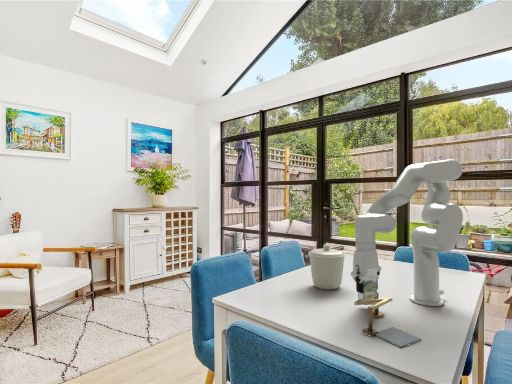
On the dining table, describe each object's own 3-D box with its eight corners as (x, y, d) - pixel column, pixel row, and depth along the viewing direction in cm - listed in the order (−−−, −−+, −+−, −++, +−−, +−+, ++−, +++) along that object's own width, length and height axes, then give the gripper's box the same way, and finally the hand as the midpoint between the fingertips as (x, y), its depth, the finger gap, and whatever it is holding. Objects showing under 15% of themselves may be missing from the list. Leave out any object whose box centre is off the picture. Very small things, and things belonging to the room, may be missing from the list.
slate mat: (393, 328, 104) (393, 326, 104) (421, 340, 95) (421, 338, 95) (373, 334, 99) (373, 333, 99) (400, 348, 91) (400, 346, 91)
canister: (303, 289, 148) (303, 245, 148) (314, 280, 164) (314, 240, 164) (341, 294, 139) (341, 248, 140) (349, 284, 155) (348, 242, 156)
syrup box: (371, 299, 125) (370, 264, 125) (378, 304, 119) (376, 267, 119) (358, 300, 125) (356, 264, 125) (363, 305, 119) (362, 268, 119)
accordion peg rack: (376, 313, 117) (375, 290, 117) (406, 325, 106) (405, 300, 106) (342, 322, 109) (342, 298, 109) (371, 337, 98) (370, 310, 98)
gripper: (372, 242, 130) (374, 284, 130) (342, 247, 121) (344, 292, 121) (388, 244, 123) (389, 288, 123) (357, 250, 115) (359, 297, 115)
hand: (367, 290), depth 122 cm, fingers closed on syrup box, 7 cm apart
